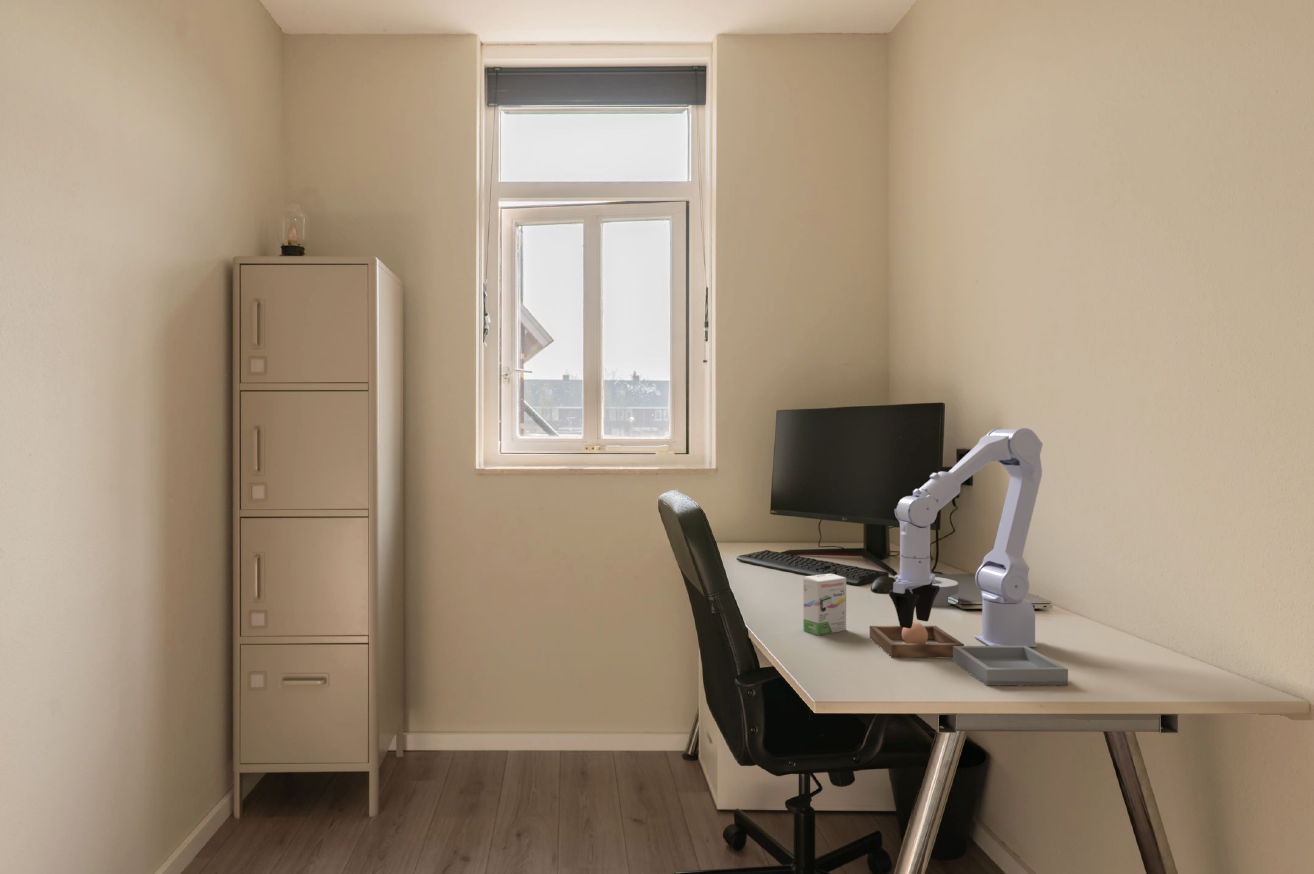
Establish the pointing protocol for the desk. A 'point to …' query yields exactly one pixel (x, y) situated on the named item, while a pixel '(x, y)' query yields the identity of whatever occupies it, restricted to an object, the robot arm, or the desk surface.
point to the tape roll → (944, 591)
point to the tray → (1009, 665)
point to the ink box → (824, 603)
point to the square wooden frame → (940, 649)
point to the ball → (915, 634)
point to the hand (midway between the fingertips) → (914, 623)
